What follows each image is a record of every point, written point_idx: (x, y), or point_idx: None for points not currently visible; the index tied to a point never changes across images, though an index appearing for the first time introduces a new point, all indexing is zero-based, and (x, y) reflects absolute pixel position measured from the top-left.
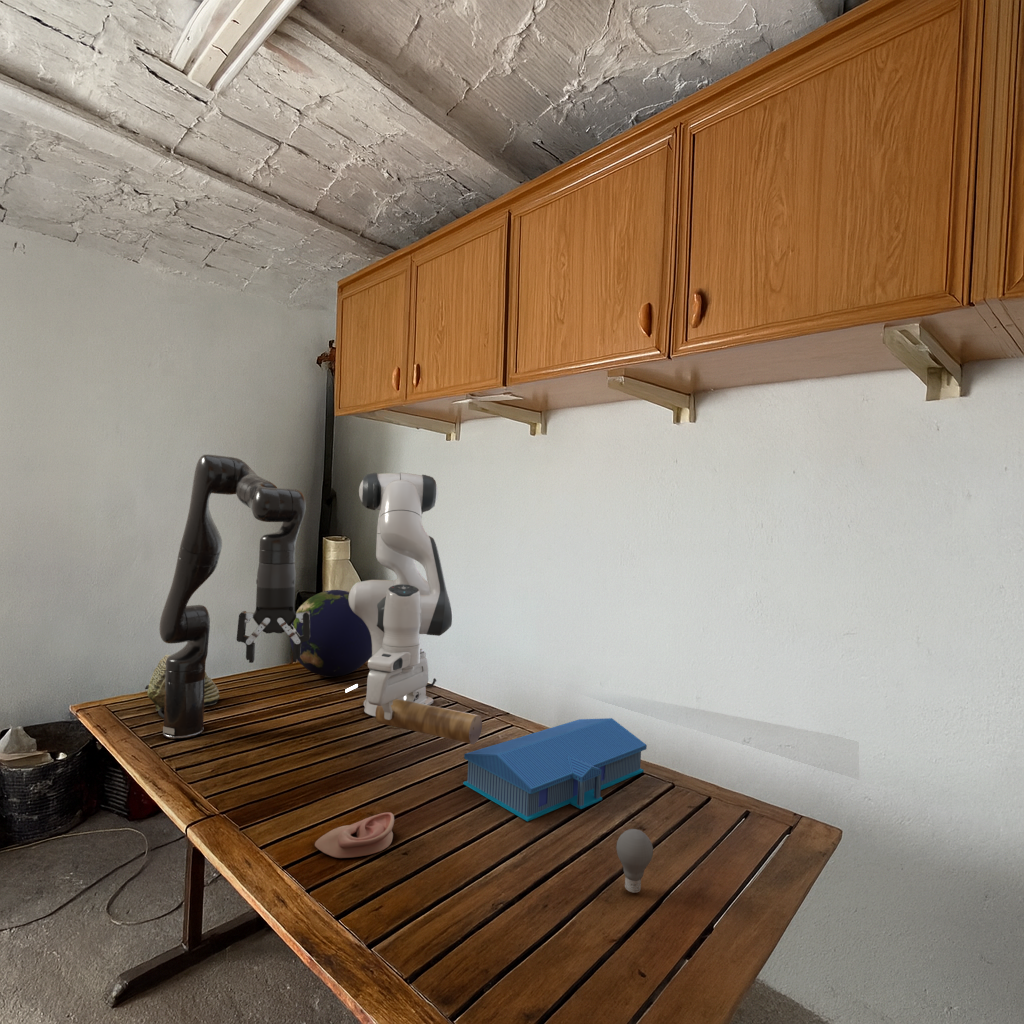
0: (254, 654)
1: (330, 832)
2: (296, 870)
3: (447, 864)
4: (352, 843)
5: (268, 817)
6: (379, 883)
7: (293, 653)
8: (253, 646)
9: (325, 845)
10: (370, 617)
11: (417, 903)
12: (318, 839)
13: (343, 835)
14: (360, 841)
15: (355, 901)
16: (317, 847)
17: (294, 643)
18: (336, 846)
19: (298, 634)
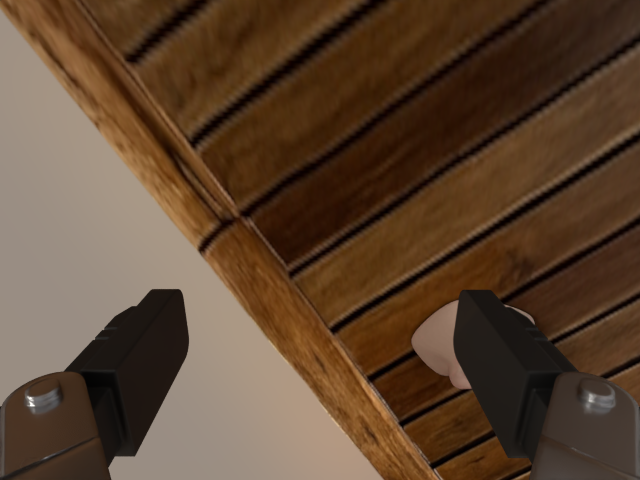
0: (163, 306)
1: (438, 332)
2: (386, 386)
3: None
4: (469, 388)
5: (331, 242)
6: (488, 423)
7: (478, 394)
8: (138, 425)
9: (428, 358)
10: None
11: (523, 458)
12: (418, 337)
13: (459, 375)
14: None
15: (455, 447)
16: (415, 350)
17: (523, 415)
18: (444, 368)
19: (635, 456)
